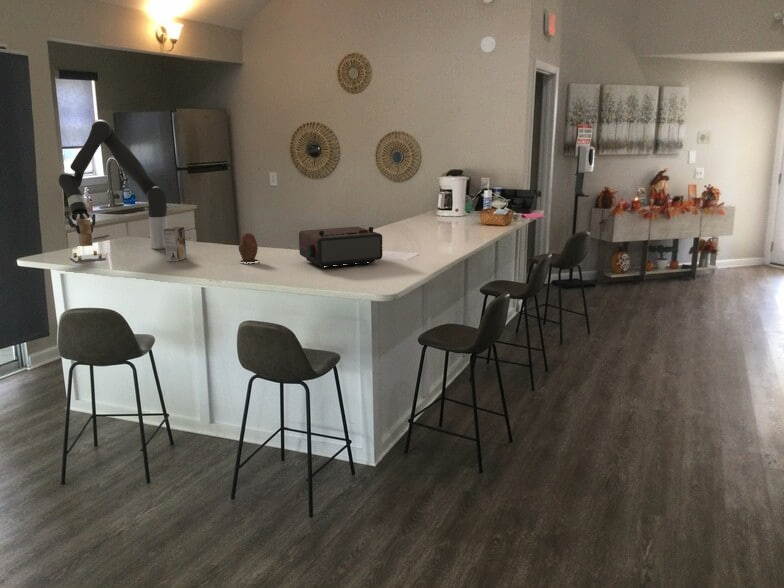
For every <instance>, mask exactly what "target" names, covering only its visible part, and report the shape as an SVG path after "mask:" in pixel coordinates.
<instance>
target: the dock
mask: <svg viewBox="0 0 784 588" xmlns="http://www.w3.org/2000/svg"><path fill="white" fill-rule="evenodd" d="M72 254H73V255H71V256H69V259H70V260H71V259H72V260H71V261H73V262H74V261H75V262H74V263H76V264H78V262H80V263H87V261H89V262H96V260H98V261H105V260H104V259H106V260H107V257H106V256H104V255H103V254H102V253H101V252H100V253H98V252H97V250H93V253H91V254H82V255H77V254H78V253H77V252H73V253H72Z"/></svg>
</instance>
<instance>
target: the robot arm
mask: <svg viewBox="0 0 784 588" xmlns="http://www.w3.org/2000/svg"><path fill="white" fill-rule="evenodd" d="M102 144H105V146H106V147H107V148H108V149H109V152H110V153H111V154H112V156H113V158H114V160H115V161H116V162H117V164H118V165H119V167H121V169H122V170H123V171H124V172H125V174H126V175H127V176H128V177H130V179H131V180H133V182H134V183H136V184H137V186H138V187H139V188H140V190H141V191H142V192H143V194H144V196H145V197H146V199H147V200H148V201H147V202H148V212H147V213H148V222H149V233H150V234H149V236H150V247H151V249H154V250H155V249H156V250H159V249H160V250H162V249H165V238H164V229H167V228H169V227H168V218H167V211H168V208H167V207H168V206H167V195H166V192H165V190H164V189H163V188H162V187H159V186H158V185H157V184H156V183H155V181H154V180H152V179H151V177H150V176H149V175H148V173H147V172H146V169H145V168H144V166H143V164H142V163H141V162H140V160H139V159H138V158H137V157H136V155H135V154H134V153H133V152H132V151H131V149H129V148H128V146H127V145H125V144H124V143H123V142H122V140H121V139H120V138H119V136H118V135H117V134H116V132H115V131H114V130H113V127H112V126H111V124H110V123H109V122H108V121H106V120H105V119H96V120H95V121H93V123H92V125H91V130H90V132H89V135H88V136H87V139H86V141H85V143H84V144H83V146H82V147H81V149H80V150H79V152H77V154H76V156H75V158H73V161H72V163H71V164H70V169H71V170H72V171H73V172H74V175H73V174H71V173H68V172H62V173H61V174H59V176H58V184H59V186H60V187H61V189H62V191H63V192H64V194H65V195H66V198H67V202H68V203H67V205H68V208H69V210H70V213H71V215H70V216H69V215H66V218H65V220H66V222H67V223H68V225H69V227H70V228H74V229H75V232H76V233H77V234H80V229H79V226H78V221H77V219H90V220H92V221H90V224H91V234H92V233H93V232H94V227H96V214H95V213H93V214H90V213H89V212H88V209H87V205H86V202H85V199H84V198H83V194H82V192H81V190H80V189H79V188H80V187H81V185H82V181H83V178H84V175H85V171H86V170H87V169H88V167H89V165H90V163H91V162H92V160H93V158H94V156H95V154H96V152H97V151H98V149H99V147H100V146H101V145H102ZM73 221H75V223H74V222H73Z"/></svg>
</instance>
